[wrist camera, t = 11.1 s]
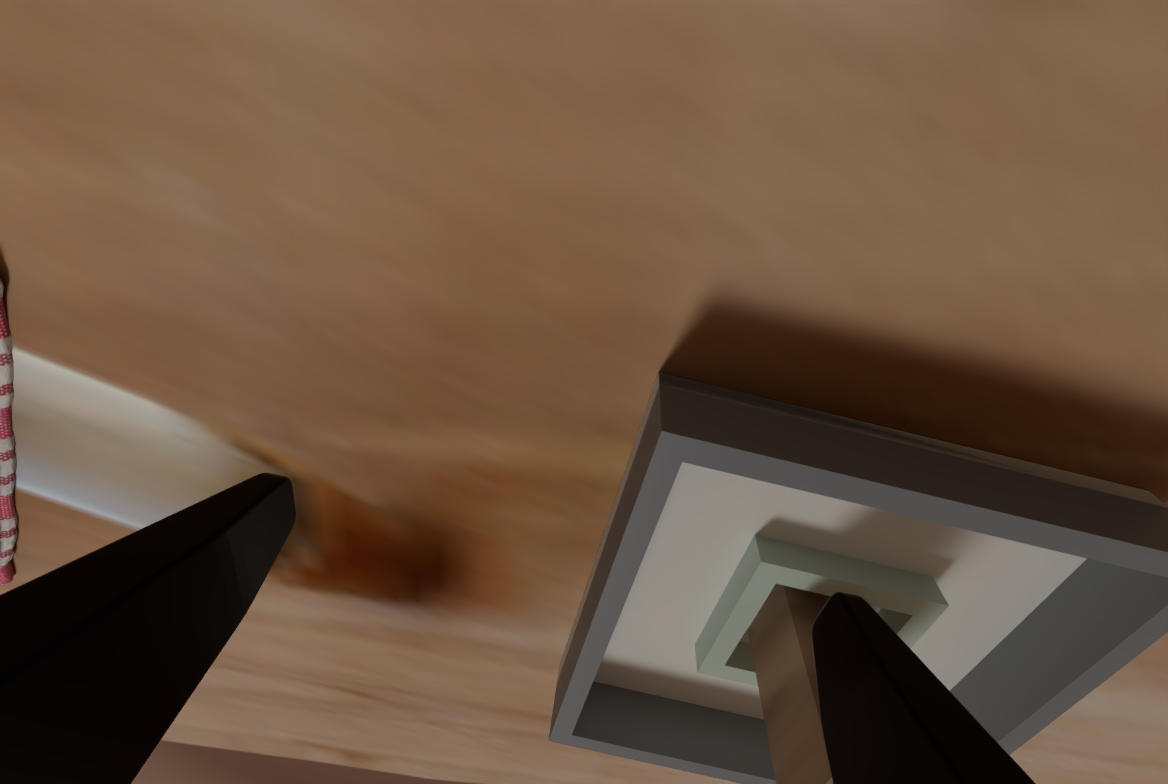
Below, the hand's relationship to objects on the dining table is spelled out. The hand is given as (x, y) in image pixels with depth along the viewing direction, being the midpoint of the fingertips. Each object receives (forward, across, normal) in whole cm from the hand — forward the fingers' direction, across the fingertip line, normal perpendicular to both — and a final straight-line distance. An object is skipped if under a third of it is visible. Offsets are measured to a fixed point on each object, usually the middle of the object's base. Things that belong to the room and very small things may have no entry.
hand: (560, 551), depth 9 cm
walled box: (+12, -12, +13) cm, 22 cm away
